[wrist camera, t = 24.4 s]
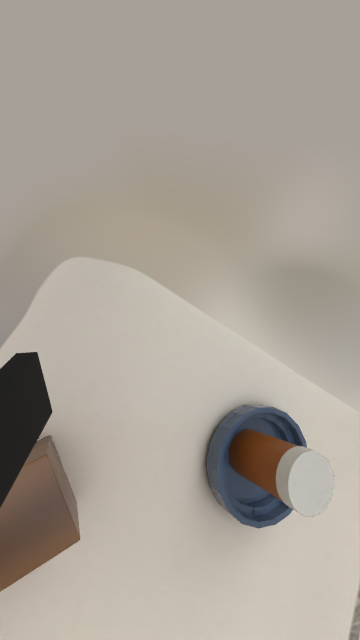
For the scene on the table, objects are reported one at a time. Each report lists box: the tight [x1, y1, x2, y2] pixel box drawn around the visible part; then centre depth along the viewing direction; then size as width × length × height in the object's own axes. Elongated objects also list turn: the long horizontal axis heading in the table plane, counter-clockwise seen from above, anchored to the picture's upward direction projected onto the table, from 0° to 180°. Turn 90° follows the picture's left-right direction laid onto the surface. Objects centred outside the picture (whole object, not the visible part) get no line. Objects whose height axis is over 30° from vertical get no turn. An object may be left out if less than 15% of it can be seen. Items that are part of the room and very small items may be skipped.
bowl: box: [207, 405, 307, 528], centre depth 38 cm, size 14×15×4 cm
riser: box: [0, 436, 80, 591], centre depth 26 cm, size 8×8×7 cm
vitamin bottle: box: [229, 429, 334, 517], centre depth 34 cm, size 6×6×11 cm
